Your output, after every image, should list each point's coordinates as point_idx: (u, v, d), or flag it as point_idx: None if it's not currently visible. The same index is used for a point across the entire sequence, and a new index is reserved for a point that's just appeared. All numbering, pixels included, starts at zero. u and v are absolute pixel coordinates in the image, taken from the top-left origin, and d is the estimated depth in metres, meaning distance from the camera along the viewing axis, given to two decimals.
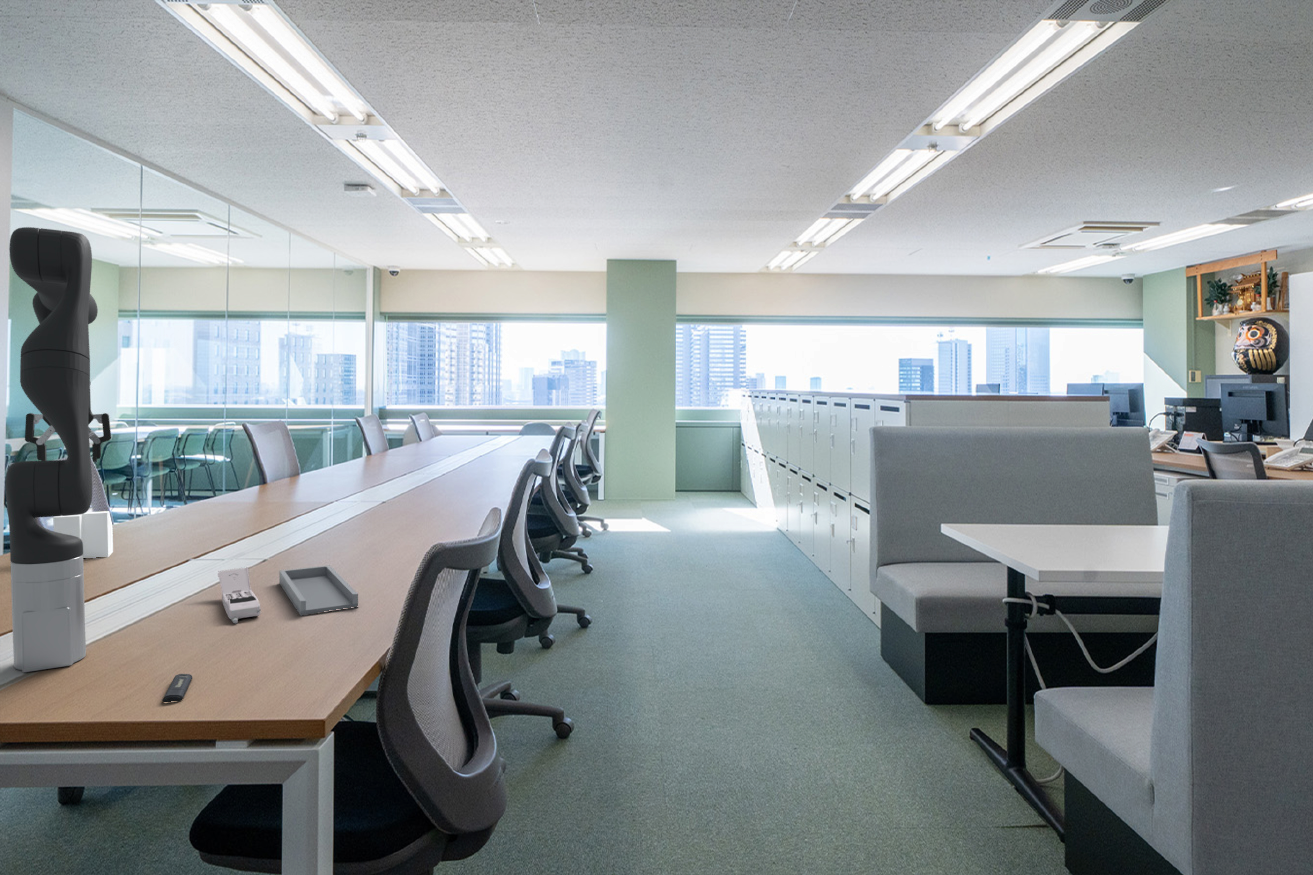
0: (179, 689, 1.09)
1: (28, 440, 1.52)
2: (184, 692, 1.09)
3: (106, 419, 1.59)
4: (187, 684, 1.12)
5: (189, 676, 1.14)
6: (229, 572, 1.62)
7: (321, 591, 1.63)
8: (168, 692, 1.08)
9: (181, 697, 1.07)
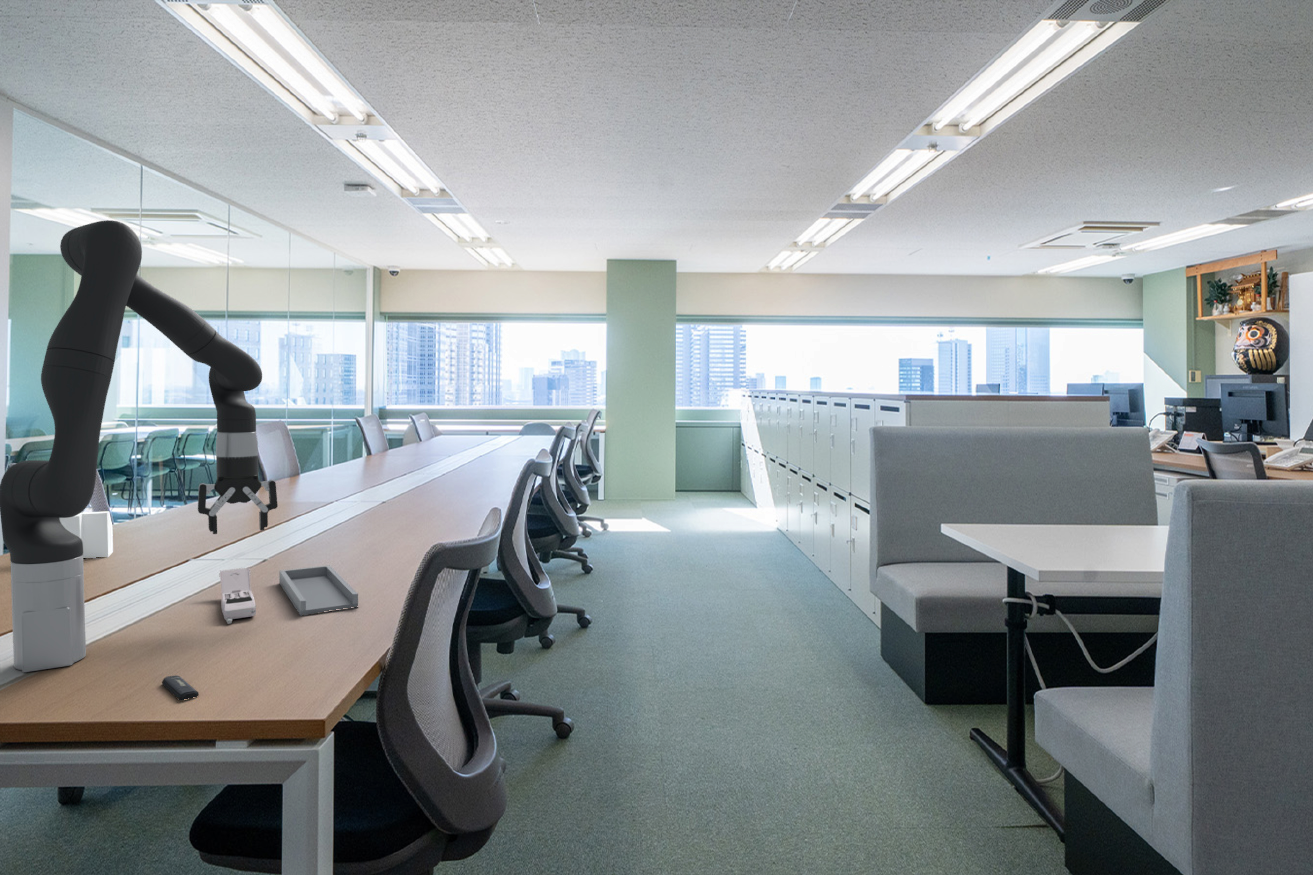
0: (189, 687, 1.10)
1: (201, 512, 1.48)
2: (194, 689, 1.10)
3: (274, 486, 1.55)
4: (187, 683, 1.12)
5: (180, 677, 1.14)
6: (231, 572, 1.63)
7: (321, 591, 1.63)
8: (180, 690, 1.08)
9: (197, 693, 1.09)
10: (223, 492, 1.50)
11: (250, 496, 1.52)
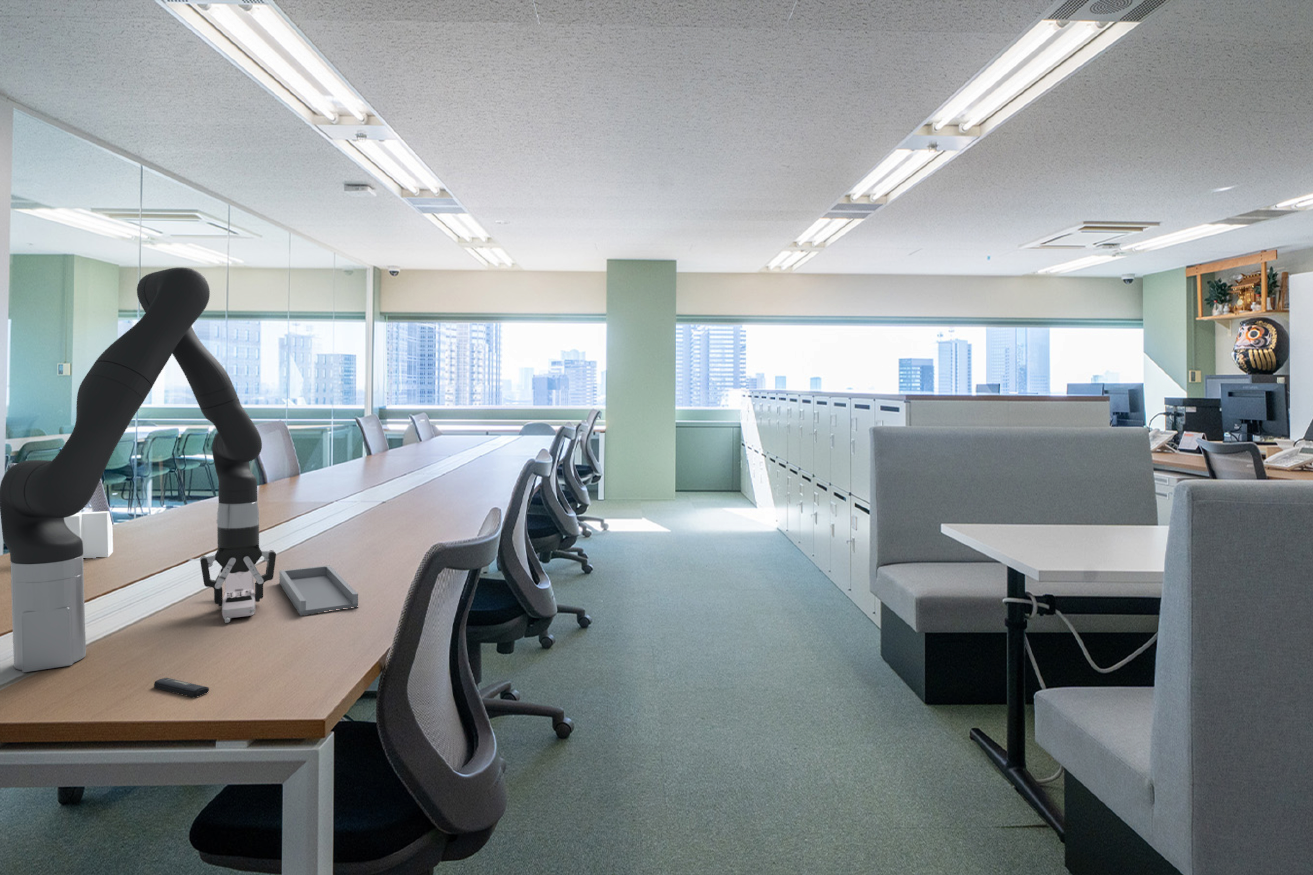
0: (195, 684, 1.11)
1: (207, 585, 1.49)
2: None
3: (273, 558, 1.56)
4: None
5: None
6: None
7: (321, 591, 1.63)
8: (190, 688, 1.09)
9: (208, 688, 1.11)
10: (224, 563, 1.51)
11: (249, 566, 1.53)
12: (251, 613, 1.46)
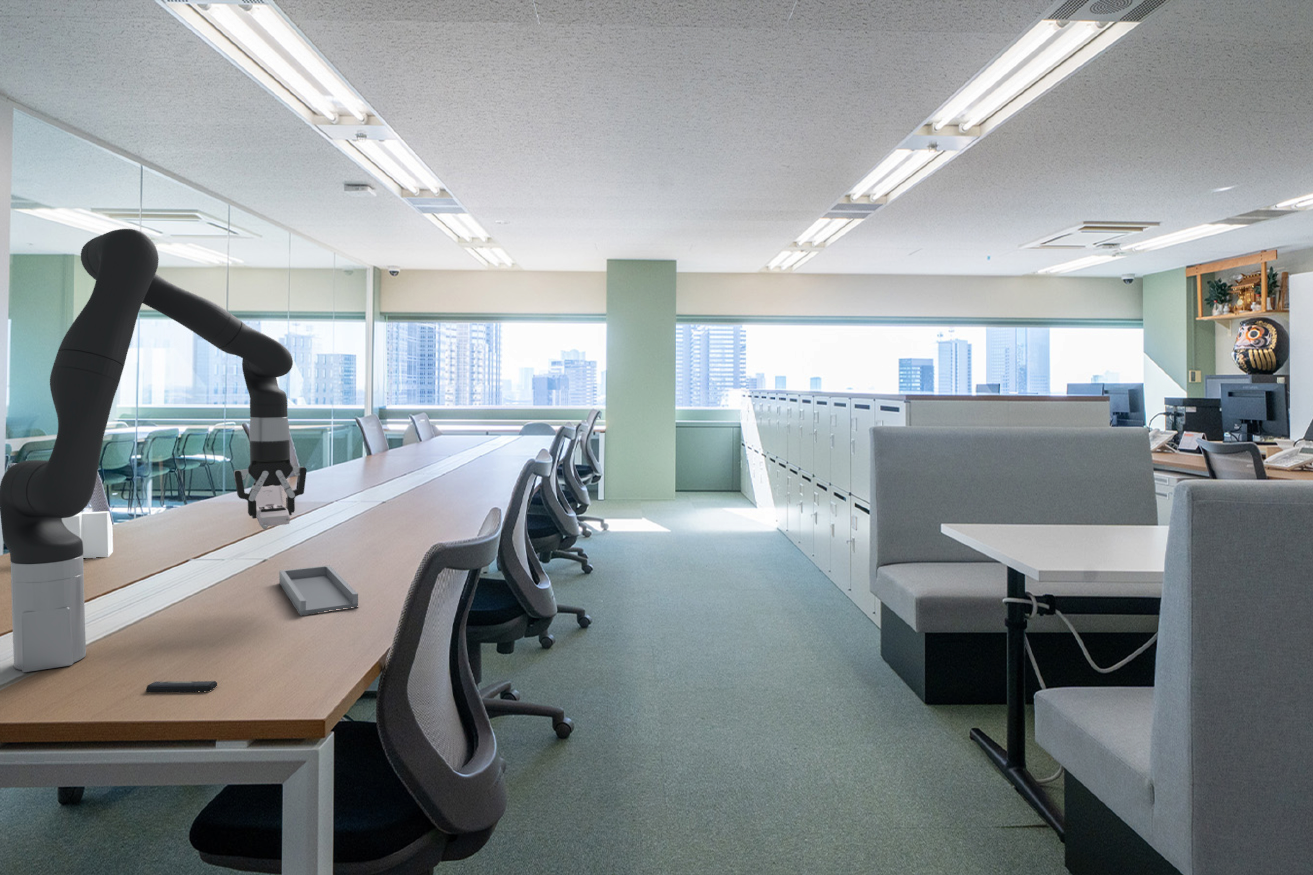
0: (200, 681, 1.12)
1: (241, 497, 1.53)
2: None
3: (304, 473, 1.60)
4: None
5: None
6: (263, 488, 1.67)
7: (321, 591, 1.63)
8: (200, 684, 1.11)
9: None
10: (257, 476, 1.55)
11: (281, 480, 1.57)
12: (287, 522, 1.50)
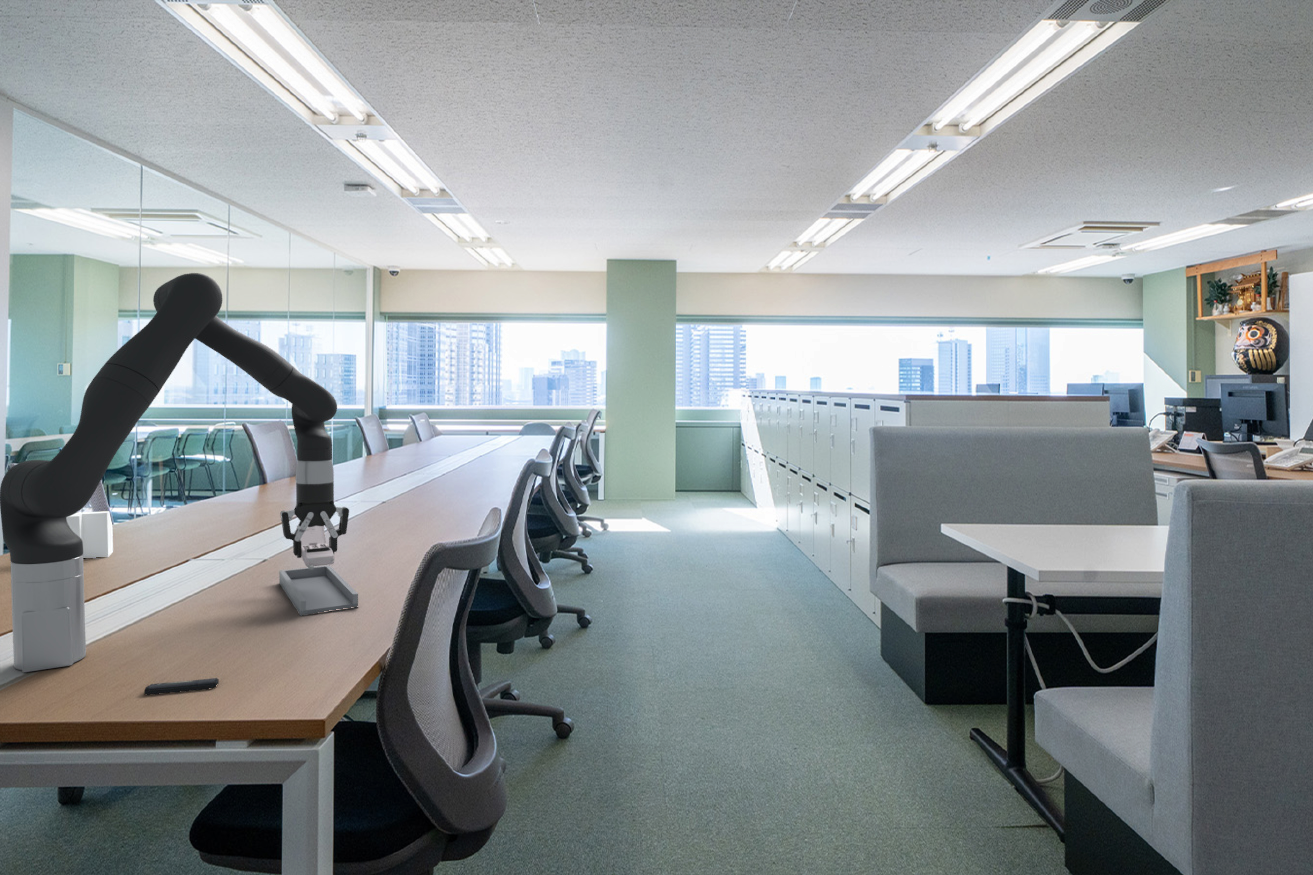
0: None
1: (288, 537, 1.59)
2: None
3: (347, 514, 1.66)
4: None
5: (157, 683, 1.11)
6: None
7: (321, 591, 1.63)
8: (204, 681, 1.12)
9: None
10: (303, 517, 1.61)
11: (325, 521, 1.63)
12: (332, 562, 1.56)
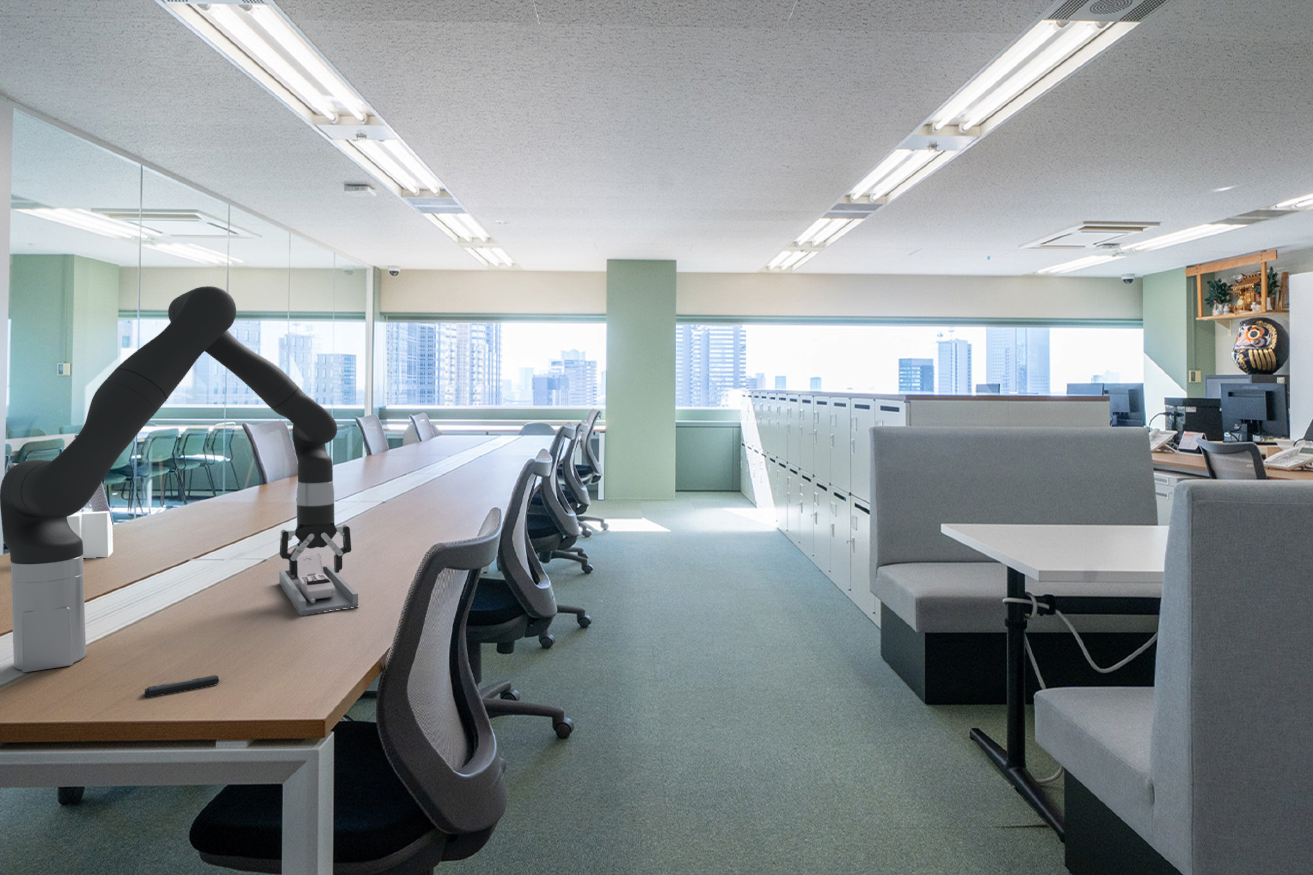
0: None
1: (284, 557, 1.59)
2: None
3: (348, 532, 1.66)
4: None
5: (154, 686, 1.10)
6: (303, 557, 1.73)
7: None
8: (206, 679, 1.13)
9: None
10: (303, 538, 1.61)
11: (327, 541, 1.63)
12: (332, 594, 1.56)
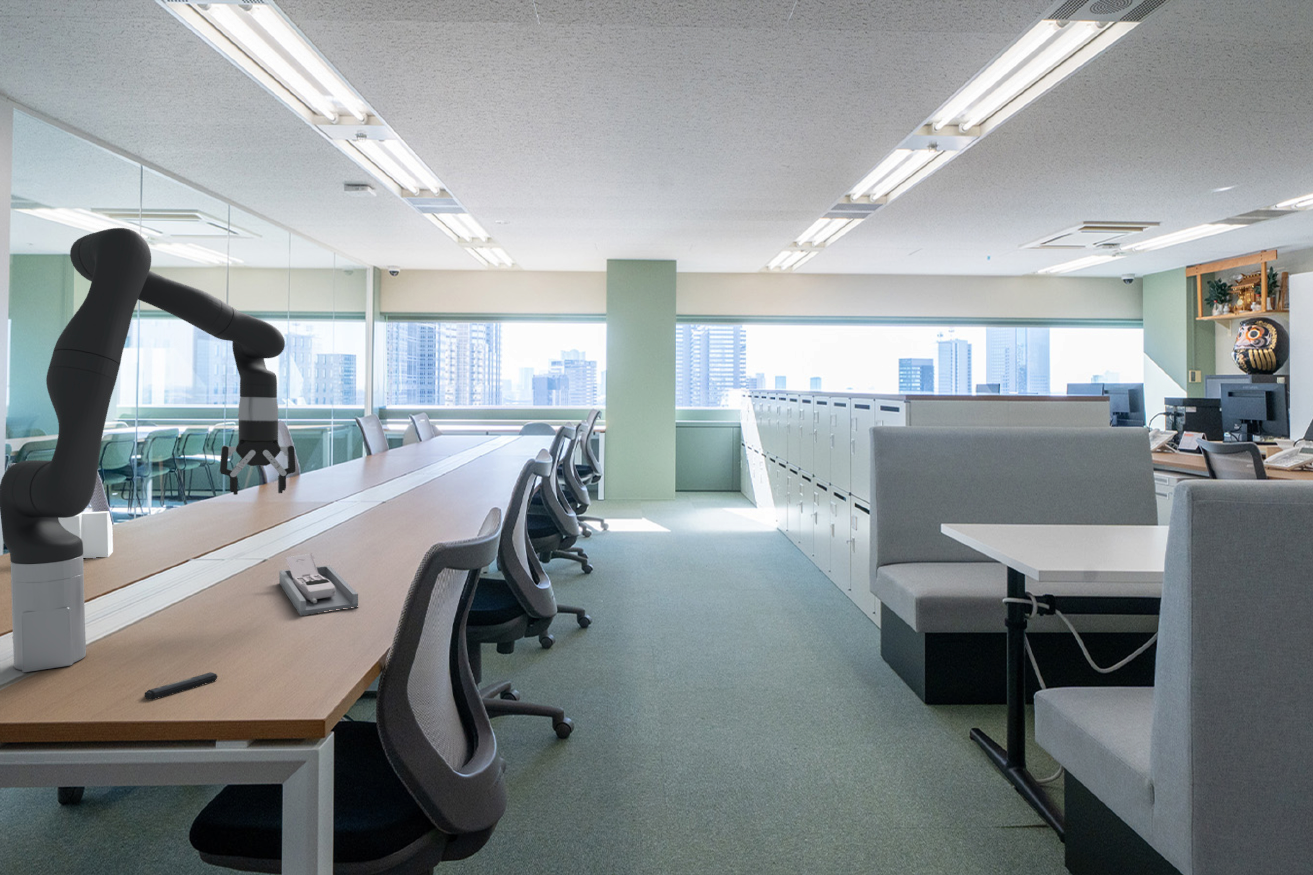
0: (196, 676, 1.14)
1: (223, 472, 1.55)
2: None
3: (292, 451, 1.61)
4: (174, 683, 1.12)
5: None
6: (296, 558, 1.72)
7: None
8: (205, 676, 1.14)
9: None
10: (244, 454, 1.57)
11: (269, 459, 1.59)
12: (333, 594, 1.57)
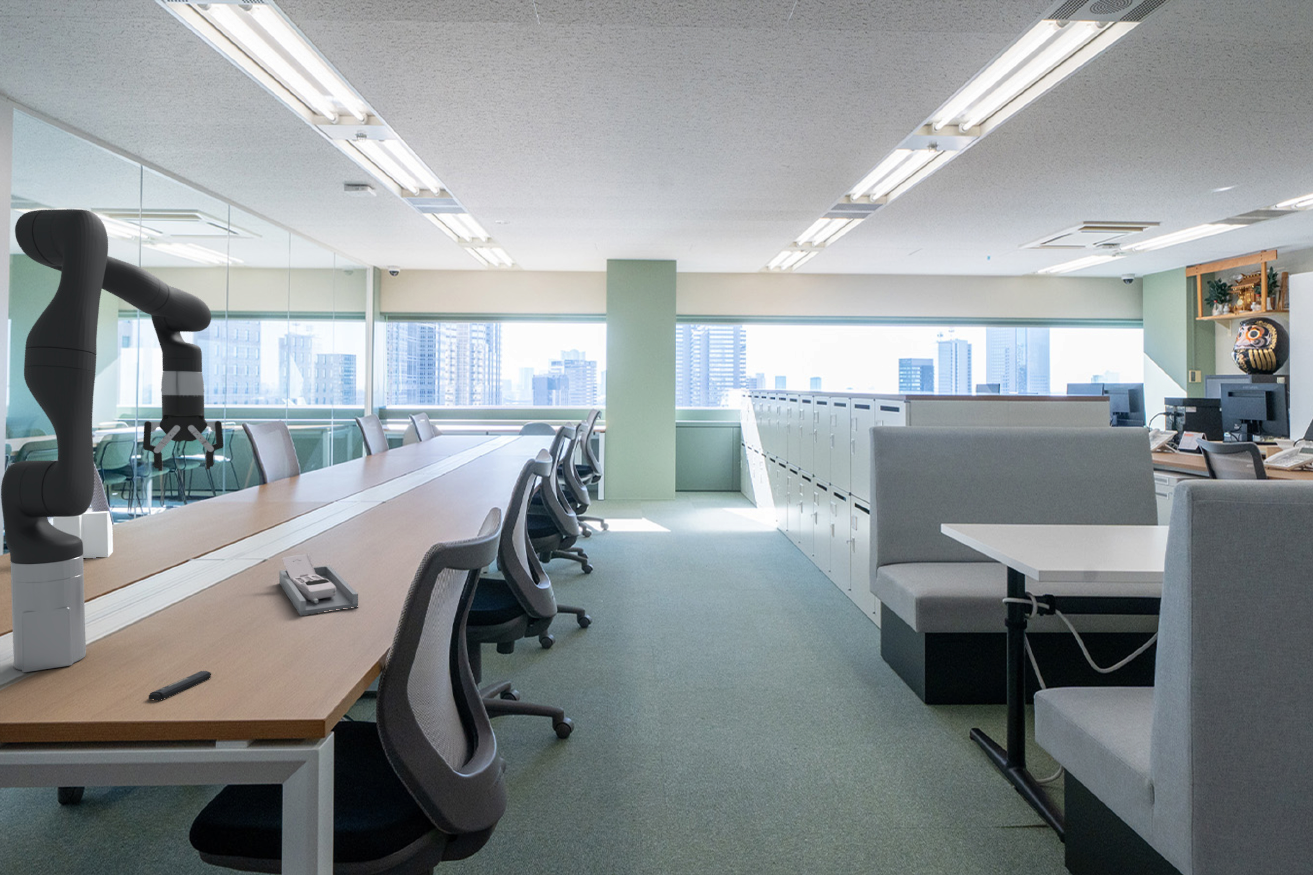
0: None
1: (146, 448, 1.51)
2: None
3: (219, 427, 1.58)
4: (172, 684, 1.12)
5: None
6: (292, 558, 1.71)
7: None
8: (201, 674, 1.15)
9: None
10: (168, 430, 1.53)
11: (195, 435, 1.56)
12: (334, 594, 1.57)
